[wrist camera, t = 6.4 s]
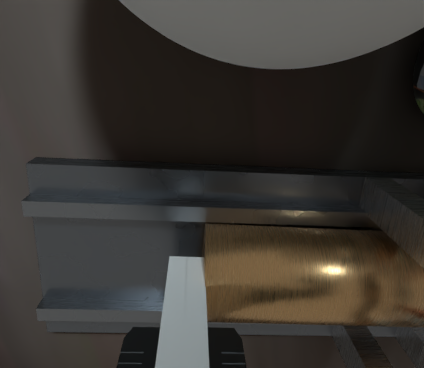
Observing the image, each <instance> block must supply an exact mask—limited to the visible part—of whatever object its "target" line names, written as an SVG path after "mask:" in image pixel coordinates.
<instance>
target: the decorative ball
mask: <svg viewBox="0 0 424 368" xmlns="http://www.w3.org/2000/svg"><path fill="white" fill-rule="evenodd" d="M119 1H120V2H121V3H122V4H123V5H124V6H125V7H127V8H128V9H129V10H130V11H131V12H132V13H134V14H135V15H136V16H137V17H138V18H140V19H141V20H142V21H144V22H145V23H146V24H148V25H149V26H150V27H152V28H153V29H155V30H156V31H158V32H159V33H161V34H162V35H164V36H165V37H167V38H169V39H171V40H172V41H174V42H176V43H178V44H180V45H182V46H184V47H186V48H188V49H190V50H192V51H194V52H197V53H199V54H202V55H204V56H207V57H210V58H213V59H216V60H219V61H223V62H226V63H231V64H235V65H240V66H246V67H253V68H262V69H298V68H308V67H315V66H321V65H327V64H332V63H336V62H340V61H344V60H347V59H351V58H354V57H357V56H360V55H363V54H366V53H369V52H372V51H374V50H377V49H380V48H382V47H384V46H387V45H389V44H392V43H394V42H396V41H398V40H400V39H402V38H404V37H406V36H408V35H410V34H412V33H414V32H416V31H418V30H420V29H422V28H423V27H424V0H119Z"/></svg>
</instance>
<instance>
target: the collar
mask: <svg viewBox="0 0 424 368" xmlns="http://www.w3.org/2000/svg"><path fill="white" fill-rule="evenodd" d="M359 206H360V207H361V208H362V209H363V210H364V211H365V212H366V213H367V216H368V217H369V218H370V219H371V220H372V221H373V222H374V223H375V224H377V225H378V226H379V227H380V228H381V229H382V230H383V231H384V232H385V233H386V234H387V235H388V236H389V237H390V238H391V239H393V240H394V241H395V242H396V243H397V244H398V245H399V246H400V247H401V248H402V249H403V250H404V251H405V252H406V253H407V254H409V255H410V256H411V257H412V258H413V259H414V260H415V261H416V262H417V263H418V264H419V265H420V266H421V267H422V268H423V269H424V199H423V198H421V197H420V196H418V195H417V194H415V193H413V192H412V191H410V190H409V189H407V188H405V187H404V186H402V185H401V184H399V183H398V182H396V181H394V180H393V179H391V178H369V177H365V181H364V186H363V190H362V195H361V200H360V204H359ZM332 338H333V340H334V342H335V344H336V346H337V348H338V350H339V352H340V355H341V357H342V359H343V361H344V363H345V365H346V367H347V368H393V367H392V366H391V364H390V362H389V361H388V359H387V358H386V356H385V354H384V353H383V351H382V350H381V348H380V347H379V345H378V343H377V342H376V340H375V339H374V337H373V335H372V334H371V332H370V331H369V329H368V327H367V326H337V325H334V327H333V331H332ZM416 368H424V346H423V349H422V352H421V355H420V358H419V361H418V364H417V367H416Z"/></svg>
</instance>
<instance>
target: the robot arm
mask: <svg viewBox="0 0 424 368" xmlns="http://www.w3.org/2000/svg"><path fill="white" fill-rule="evenodd" d="M117 368H246V362H245V356H244V350H243V344H242V339H241V337H240V336H239V334H238V333H237V331H236V330H235V328H218V327H208V326H207V304H206V286H205V263H204V257H178V256H169V264H168V272H167V279H166V287H165V295H164V302H163V310H162V318H161V325H160V327H132V329H131V330H130V331H129V332H128V334H127V335H126V336H125V337H124V340H123V344H122V348H121V354H120V356H119V360H118V365H117Z"/></svg>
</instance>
